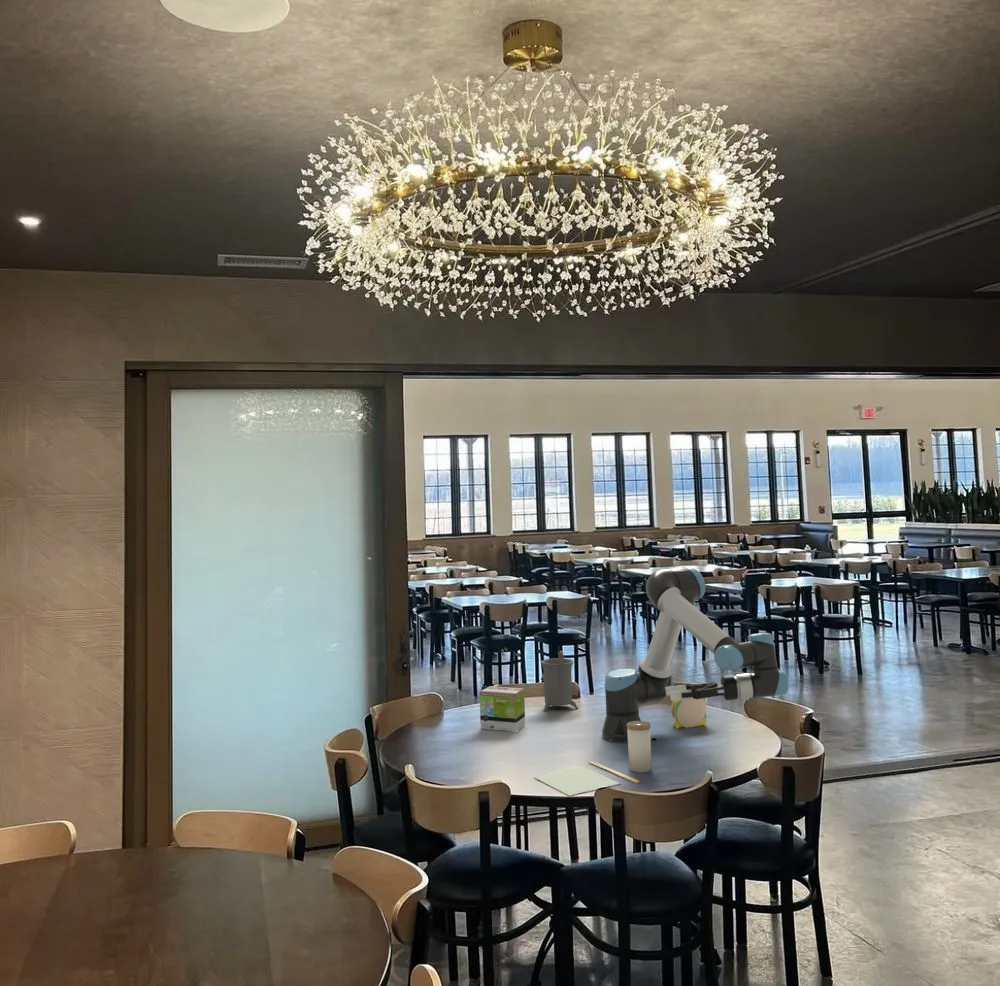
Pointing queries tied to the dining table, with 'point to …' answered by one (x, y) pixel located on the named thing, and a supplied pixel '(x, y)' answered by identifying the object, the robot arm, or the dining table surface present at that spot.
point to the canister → (639, 746)
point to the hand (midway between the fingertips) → (667, 693)
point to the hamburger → (688, 712)
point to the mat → (575, 780)
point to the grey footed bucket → (558, 681)
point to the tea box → (502, 708)
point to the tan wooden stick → (617, 773)
